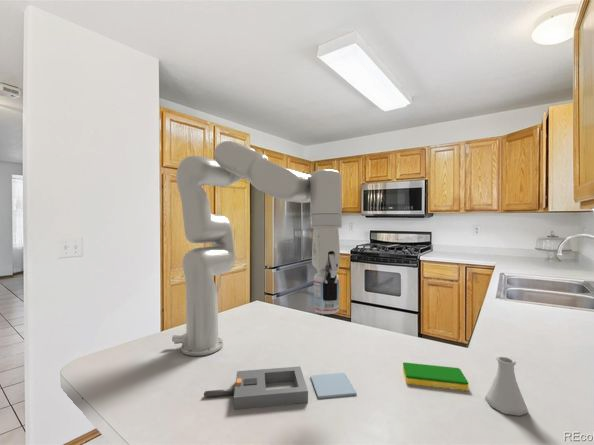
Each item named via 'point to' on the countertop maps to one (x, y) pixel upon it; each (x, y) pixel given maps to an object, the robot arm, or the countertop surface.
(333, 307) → the pill bottle
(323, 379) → the slate mat
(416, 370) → the dish sponge
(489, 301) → the countertop surface
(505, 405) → the flask
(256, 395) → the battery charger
